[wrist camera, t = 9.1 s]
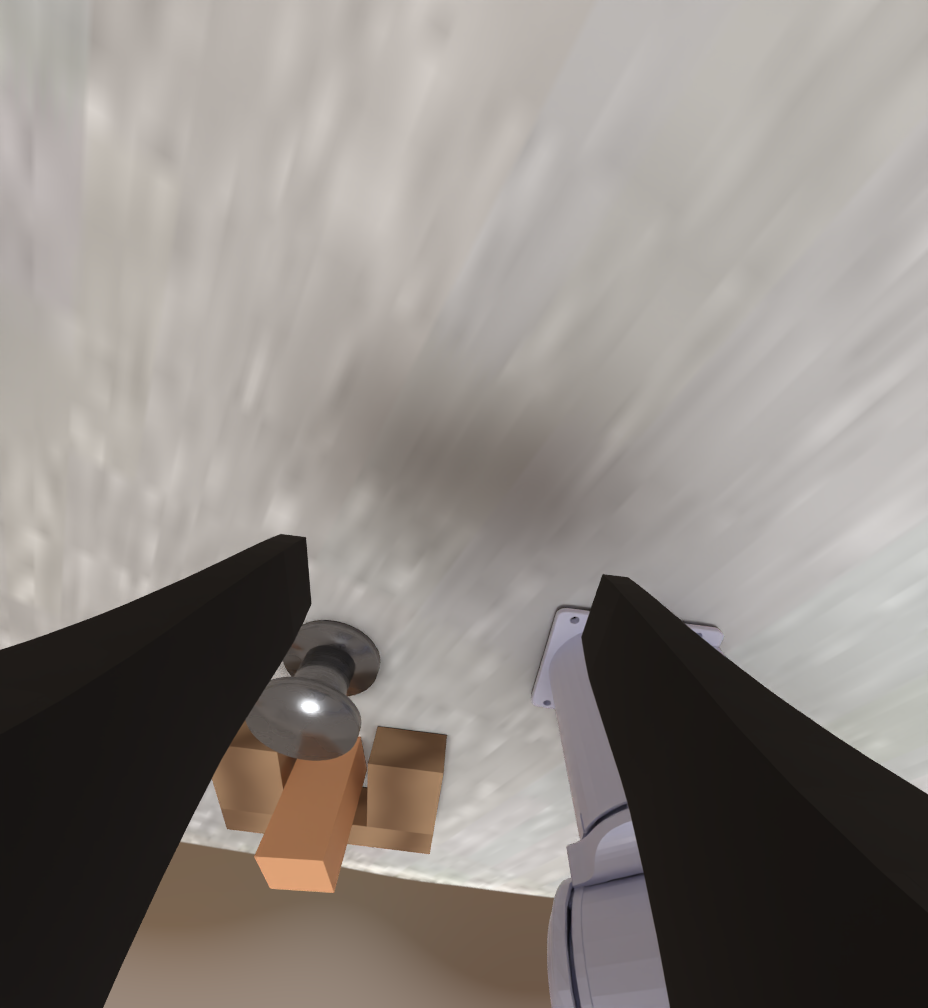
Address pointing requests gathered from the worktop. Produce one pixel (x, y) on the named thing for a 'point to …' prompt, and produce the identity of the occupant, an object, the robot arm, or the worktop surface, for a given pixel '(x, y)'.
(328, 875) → the brown block
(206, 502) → the worktop surface
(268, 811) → the notched board
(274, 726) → the doorknob
